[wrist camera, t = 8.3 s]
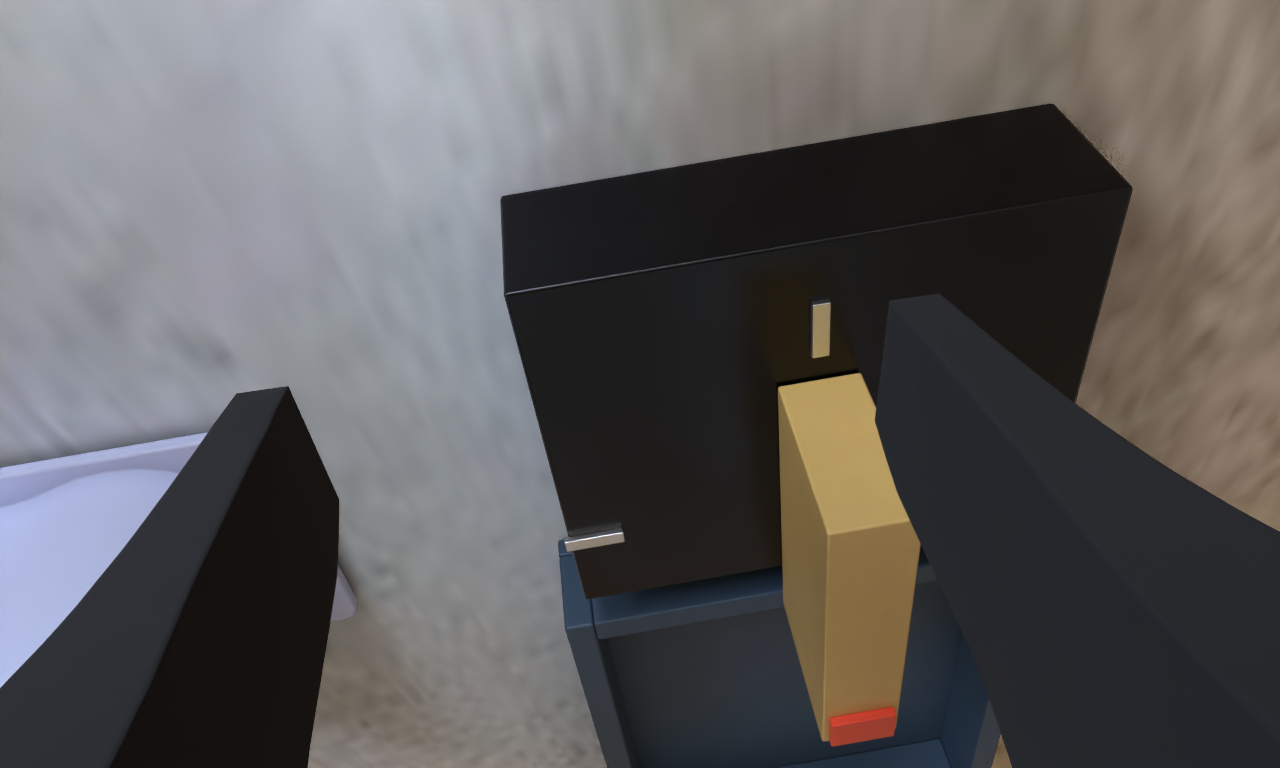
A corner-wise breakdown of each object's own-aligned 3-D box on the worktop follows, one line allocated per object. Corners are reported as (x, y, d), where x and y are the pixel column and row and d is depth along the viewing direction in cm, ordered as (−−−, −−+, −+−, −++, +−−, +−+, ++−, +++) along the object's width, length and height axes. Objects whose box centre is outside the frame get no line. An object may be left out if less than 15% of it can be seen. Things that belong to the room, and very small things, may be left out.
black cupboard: (495, 195, 21) (498, 300, 18) (1058, 101, 21) (1145, 190, 18) (590, 573, 30) (602, 679, 27) (979, 505, 30) (1029, 604, 27)
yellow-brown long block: (777, 385, 20) (831, 545, 17) (860, 371, 21) (929, 528, 17) (783, 602, 26) (824, 752, 23) (849, 590, 26) (899, 739, 23)
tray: (627, 787, 40) (636, 865, 38) (557, 539, 29) (565, 629, 26) (952, 730, 40) (981, 804, 38) (1011, 461, 29) (1057, 543, 27)
